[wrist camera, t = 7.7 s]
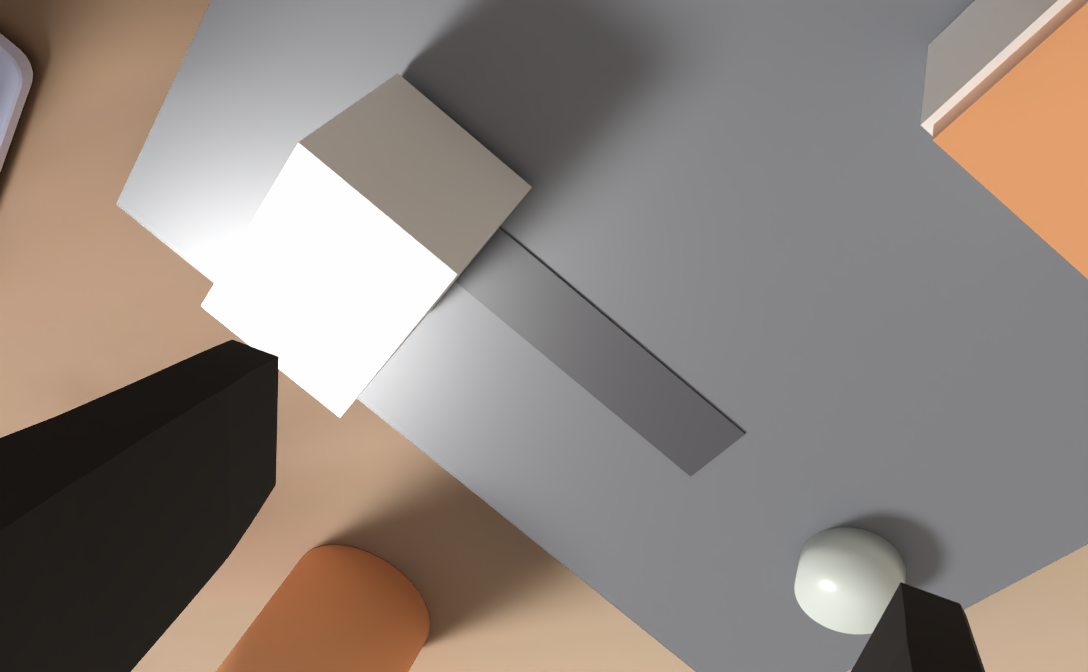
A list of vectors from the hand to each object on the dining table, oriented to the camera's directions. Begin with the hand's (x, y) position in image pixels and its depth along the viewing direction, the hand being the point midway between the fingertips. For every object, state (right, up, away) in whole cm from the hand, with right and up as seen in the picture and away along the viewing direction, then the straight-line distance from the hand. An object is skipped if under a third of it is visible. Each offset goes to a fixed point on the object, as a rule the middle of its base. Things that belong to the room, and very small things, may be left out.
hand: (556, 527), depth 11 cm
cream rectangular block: (-3, +4, +7) cm, 9 cm away
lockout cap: (-5, -5, +16) cm, 18 cm away
